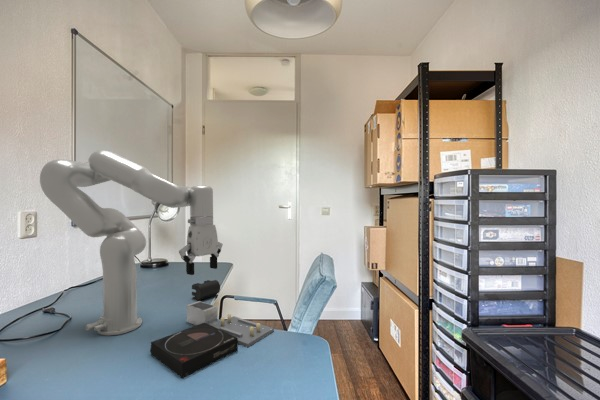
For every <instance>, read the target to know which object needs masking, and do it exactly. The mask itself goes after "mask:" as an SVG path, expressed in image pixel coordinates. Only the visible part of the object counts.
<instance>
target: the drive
mask: <svg viewBox="0 0 600 400" xmlns="http://www.w3.org/2000/svg"><path fill="white" fill-rule="evenodd" d="M204 322H205V323H207V324H209V325H211V326H214V325H216V324H218V305H214V304H210V303H207V302H204V301H202V300H199V301H197V300H196V301H195V302H191V303H189V304H186V323H189V324H192V325H193V326H196V325H199V324H202V323H204Z"/></svg>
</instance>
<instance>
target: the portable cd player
mask: <svg viewBox="0 0 600 400" xmlns="http://www.w3.org/2000/svg"><path fill="white" fill-rule="evenodd" d="M213 326H214V325H213ZM213 326H211V325H209V324H207V323H205V322H204V323H202V324H199V325H193V326H191V327H188V328H186V329H183V330H180V331H178V332H175V333H172V334H170V335H167V336H164V337H161V338H158V339H156V340H154V341H151V342H150V350H149V352H150V355H151V356H152V357H153V358H155V360H157V361H159V362H160V363H161V364H163V365H164V366H165V367H167V368H168V369H170V370H171V371H172V372H173V373H175V374H176V375H177V376H179V378H181V379H184V378H186V377H188V376H189V375H192V374H194V373H196V372H198V371H199V370H202V369H204V368H205V367H208V366H210V365H211V364H213V363H215V362H217V361H219V360H222V359H223V358H226V357H227V356H229V355H231V354H234V353H235V352H237V351H239V349H238V346H239V344H238V338H237V337H235V336H233V335H230V334H228V333H226V332H224V331H222V330H220V329H218V328H216V327H213Z"/></svg>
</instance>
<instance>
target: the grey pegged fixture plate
mask: <svg viewBox="0 0 600 400" xmlns="http://www.w3.org/2000/svg"><path fill="white" fill-rule="evenodd" d="M230 323H231V324H230ZM235 324H236V325H235ZM240 325H242V326H240ZM246 326H248V327H246ZM213 327H216V328H218V329H220V330H222V331H224V332H226V333H228V334H230V335H233V336H235V337H237V338H238V345H241V346H243V347H246V348H249V347H252V345H254V344H256V343H258V342H259V341H261V340H262V339H264V338H265V337H267V336H269V335H270V334H272V333H274V332H275V331H274V329H275V328H274V327H271V326H268V325H265V324H261V323H260V322H254V321H251V320H248V319H244V318H241V317H237V316H234V315H233V316H232V314H230V313H229V314H227V319H225V317H220V322H217V324H216V325H213ZM254 327H256V328H254ZM262 328H264V329H262ZM270 329H272V330H270Z"/></svg>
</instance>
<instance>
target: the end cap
mask: <svg viewBox="0 0 600 400" xmlns="http://www.w3.org/2000/svg"><path fill="white" fill-rule="evenodd" d="M191 289H192V290H195V291H191V296H192V300H194V301H196V302H197V301H202V300H205V299H208V298H212V297H214V296H216V295H218V294H219V293H220V291H221V283H220V282H219V281H218V280H217V279H214V280H210V279H207V280H204V281H203V283H199V282H196V283H193V284H192V285H191Z"/></svg>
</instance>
